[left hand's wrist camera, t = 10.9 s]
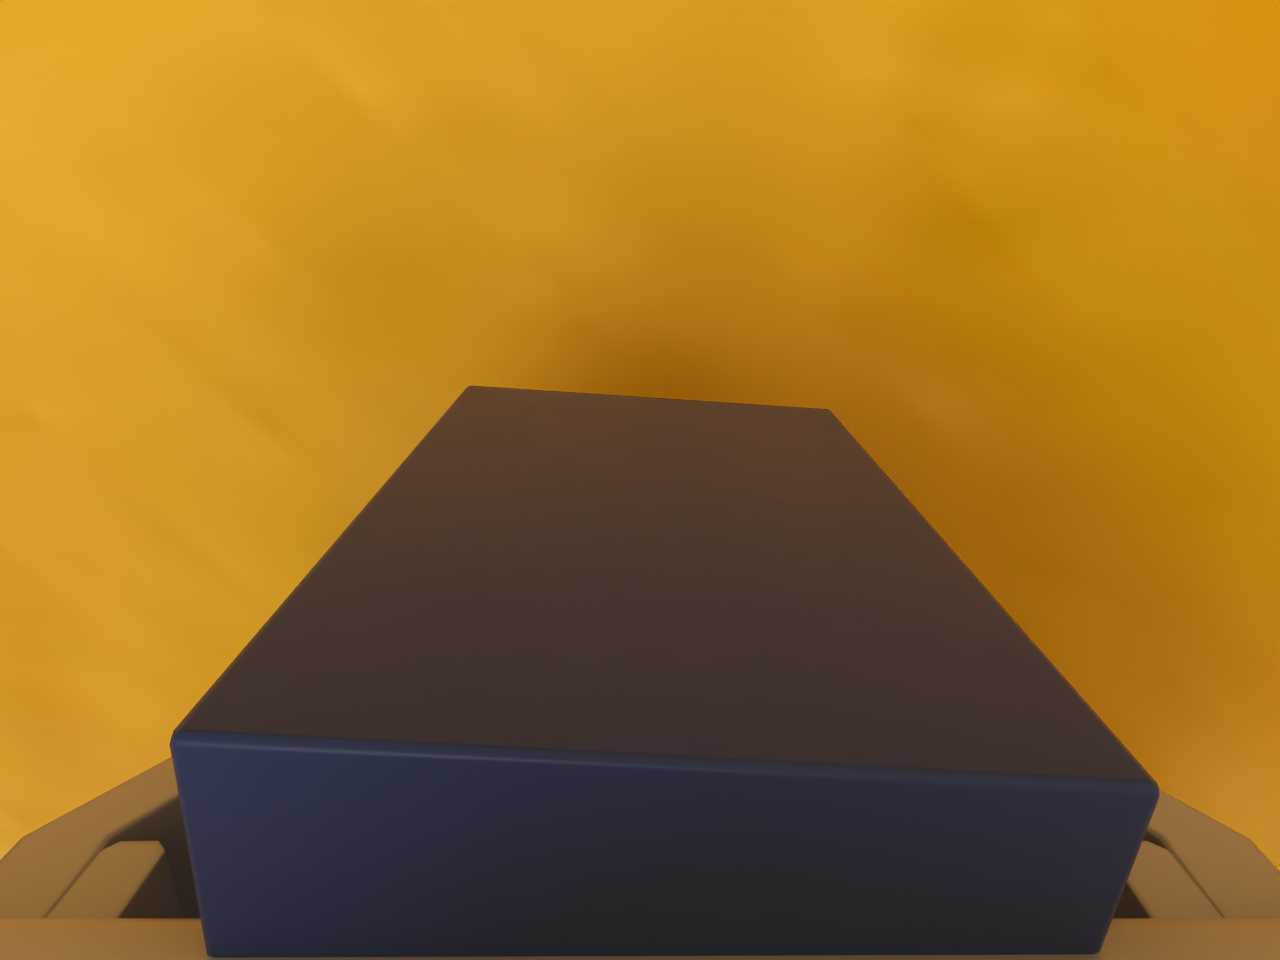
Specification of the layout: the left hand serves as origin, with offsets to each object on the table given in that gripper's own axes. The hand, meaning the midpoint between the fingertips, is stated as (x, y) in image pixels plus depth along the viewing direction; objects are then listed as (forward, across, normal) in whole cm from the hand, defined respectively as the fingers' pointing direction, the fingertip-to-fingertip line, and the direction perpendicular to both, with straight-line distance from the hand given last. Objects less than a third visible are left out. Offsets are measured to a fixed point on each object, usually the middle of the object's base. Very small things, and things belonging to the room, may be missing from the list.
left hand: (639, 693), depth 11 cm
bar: (+3, -1, -10) cm, 11 cm away
